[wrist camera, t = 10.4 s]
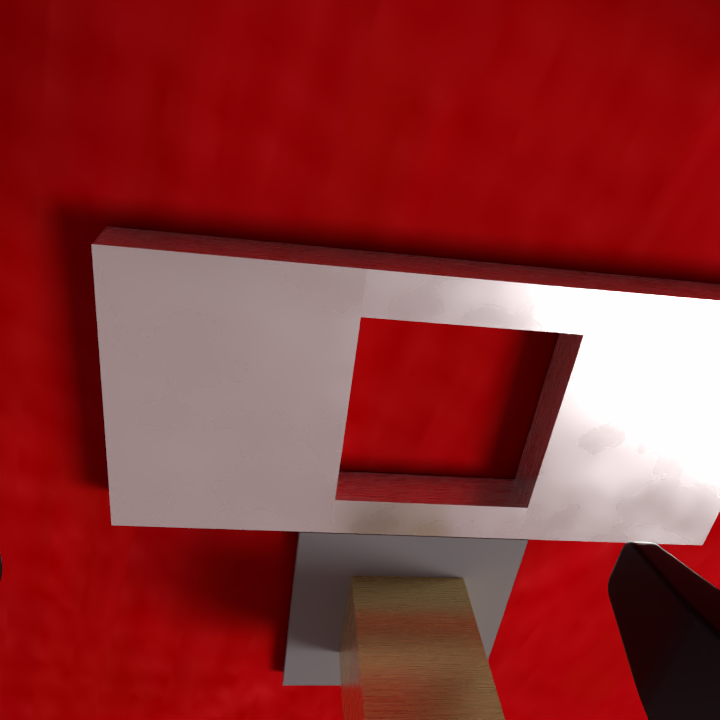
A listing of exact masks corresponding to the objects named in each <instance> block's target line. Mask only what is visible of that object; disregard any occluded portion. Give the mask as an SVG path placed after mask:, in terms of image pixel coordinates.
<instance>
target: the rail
mask: <svg viewBox="0 0 720 720" xmlns="http://www.w3.org/2000/svg"><path fill="white" fill-rule="evenodd" d="M91 246H92V260H93V274H94V288H95V301H96V315H97V329H98V343H99V357H100V371H101V384H102V398H103V412H104V426H105V440H106V454H107V467H108V481H109V495H110V509H111V523H112V525H121V526H151V527H180V528H210V529H240V530H269V531H299V532H329V533H358V534H388V535H417V536H447V537H477V538H506V539H536V540H566V541H595V542H625V543H628V542H651V543H655V544H684V545H703V543H704V541H705V539H706V537H707V535H708V533H709V531H710V529H711V527H712V525H713V523H714V521H715V519H716V517H717V515H718V513H719V511H720V284H713V283H702V282H692V281H681V280H671V279H660V278H649V277H639V276H628V275H618V274H607V273H596V272H586V271H575V270H565V269H554V268H544V267H533V266H522V265H512V264H501V263H491V262H480V261H470V260H459V259H448V258H438V257H427V256H417V255H406V254H395V253H385V252H374V251H364V250H353V249H343V248H332V247H321V246H311V245H300V244H290V243H279V242H269V241H258V240H247V239H237V238H226V237H216V236H205V235H195V234H184V233H173V232H163V231H152V230H142V229H131V228H120V227H110V226H106V228H105V229H104V230H103V231H102V232H101V233H100V235H99V236H98V237H97V238H96V239H95V240H94V242H93V243H92V244H91ZM361 317H368V318H381V319H393V320H406V321H418V322H431V323H443V324H455V325H468V326H480V327H493V328H505V329H518V330H530V331H543V332H555V333H559V335H558V338H557V342H556V345H555V348H554V352H553V355H552V358H551V361H550V365H549V368H548V371H547V375H546V378H545V381H544V384H543V388H542V391H541V394H540V398H539V401H538V404H537V407H536V411H535V414H534V417H533V421H532V424H531V427H530V430H529V434H528V437H527V440H526V444H525V447H524V450H523V453H522V457H521V460H520V463H519V467H518V470H517V473H516V476H515V479H494V478H473V477H451V476H430V475H409V474H387V473H366V472H345V471H339V468H340V461H341V453H342V446H343V439H344V432H345V425H346V418H347V411H348V404H349V397H350V389H351V382H352V375H353V368H354V361H355V354H356V347H357V340H358V332H359V325H360V318H361Z"/></svg>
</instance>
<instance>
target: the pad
mask: <svg viewBox="0 0 720 720" xmlns="http://www.w3.org/2000/svg"><path fill="white" fill-rule="evenodd" d="M527 542H528V539H506V538H477V537H447V536H417V535H388V534H358V533H329V532H299V534H298V543H297V552H296V561H295V570H294V579H293V588H292V597H291V607H290V616H289V625H288V634H287V643H286V652H285V661H284V671H283V685H341V679H340V664H339V648H340V642H341V635H342V629H343V623H344V617H345V611H346V605H347V599H348V593H349V586H350V580H351V575H353V576H398V577H443V578H464V581H465V585H466V588H467V592H468V595H469V598H470V602H471V605H472V609H473V612H474V615H475V619H476V622H477V626H478V629H479V633H480V636H481V639H482V643H483V646H484V650H485V653H486V657H487V660H488V658H489V655H490V652H491V649H492V646H493V643H494V640H495V637H496V634H497V631H498V628H499V625H500V622H501V619H502V616H503V614H504V611H505V608H506V605H507V602H508V599H509V596H510V593H511V590H512V587H513V584H514V581H515V578H516V575H517V572H518V569H519V566H520V563H521V560H522V557H523V554H524V551H525V548H526V545H527Z"/></svg>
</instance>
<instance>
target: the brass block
mask: <svg viewBox="0 0 720 720" xmlns="http://www.w3.org/2000/svg"><path fill="white" fill-rule="evenodd" d="M339 664H340V679H341V694H342V709H343V720H505V718H504V715H503V711H502V708H501V705H500V701H499V698H498V694H497V691H496V687H495V684H494V681H493V677H492V674H491V670H490V667H489V663H488V660H487V657H486V653H485V650H484V646H483V643H482V639H481V636H480V633H479V629H478V626H477V622H476V619H475V615H474V612H473V609H472V605H471V602H470V598H469V595H468V592H467V588H466V585H465V581H464V578H443V577H398V576H353V575H351V580H350V586H349V593H348V599H347V605H346V611H345V617H344V623H343V629H342V635H341V642H340V648H339Z"/></svg>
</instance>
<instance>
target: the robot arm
mask: <svg viewBox="0 0 720 720" xmlns="http://www.w3.org/2000/svg"><path fill="white" fill-rule="evenodd" d="M1 576H2V560H1V555H0V581H1ZM608 593H609V598H610V601H611V605H612V608H613V611H614V615H615V618H616V621H617V625H618V628H619V632H620V635H621V638H622V642H623V645H624V648H625V652H626V655H627V658H628V662H629V665H630V669H631V672H632V675H633V679H634V682H635V685H636V688H637V691H638V694H639V696H640V699H641V702H642V704H643V707H644V710H645V712H646V715H647V717H648V719H649V720H720V590H719V589H718V588H716V587H715V586H714V585H712V584H711V583H709V582H708V581H707V580H705V579H704V578H703V577H701V576H700V575H698V574H697V573H696V572H694V571H693V570H692V569H690V568H689V567H687V566H686V565H685V564H683V563H682V562H681V561H679V560H678V559H676V558H675V557H674V556H672V555H671V554H670V553H668V552H667V551H665V550H664V549H663V548H661V547H660V546H658V545H657V544H655V543H651V542H628V543H626V544H625V545H624V546H623V548H622V550H621V552H620V555H619V557H618V559H617V562H616V564H615V566H614V568H613V571H612V573H611V575H610V578H609V582H608Z"/></svg>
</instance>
